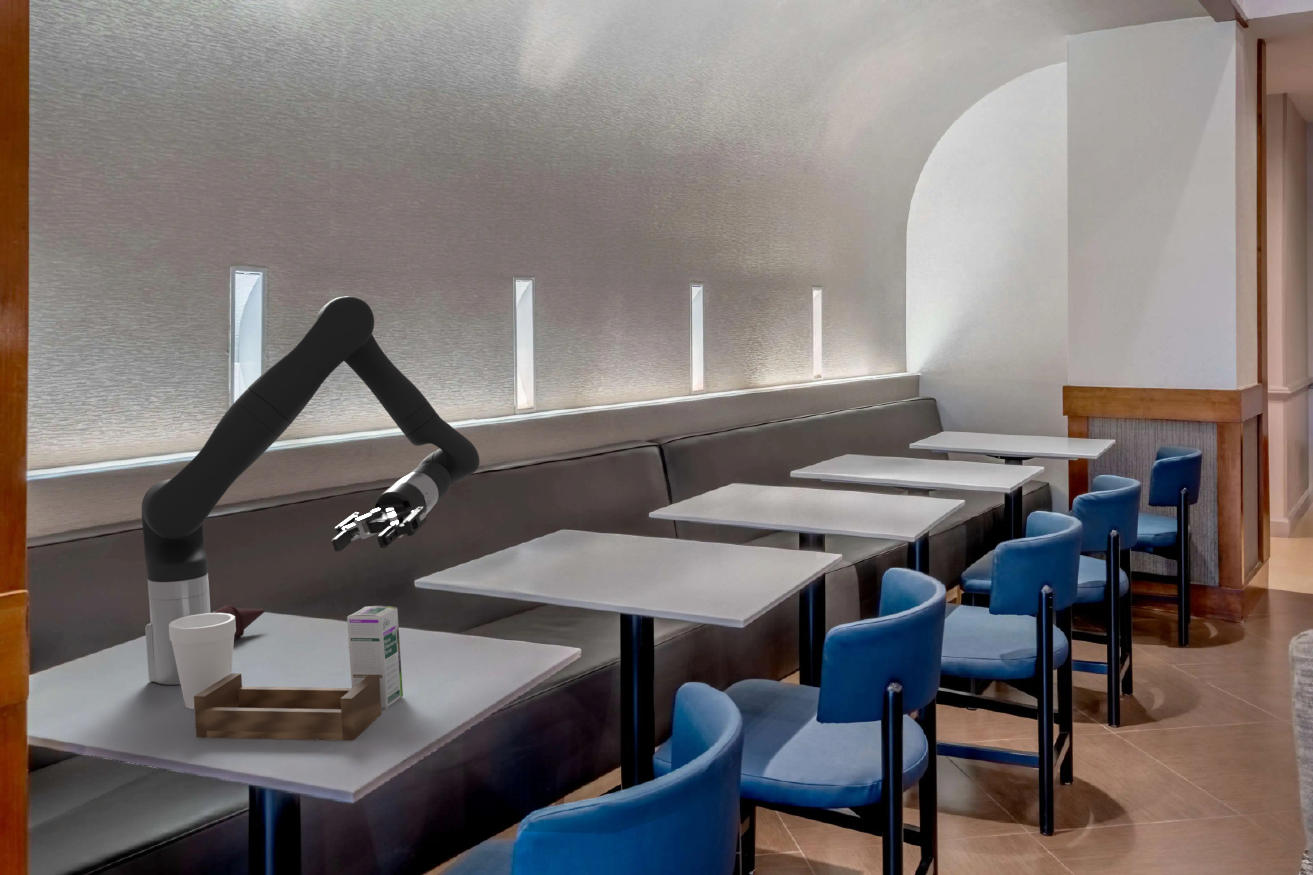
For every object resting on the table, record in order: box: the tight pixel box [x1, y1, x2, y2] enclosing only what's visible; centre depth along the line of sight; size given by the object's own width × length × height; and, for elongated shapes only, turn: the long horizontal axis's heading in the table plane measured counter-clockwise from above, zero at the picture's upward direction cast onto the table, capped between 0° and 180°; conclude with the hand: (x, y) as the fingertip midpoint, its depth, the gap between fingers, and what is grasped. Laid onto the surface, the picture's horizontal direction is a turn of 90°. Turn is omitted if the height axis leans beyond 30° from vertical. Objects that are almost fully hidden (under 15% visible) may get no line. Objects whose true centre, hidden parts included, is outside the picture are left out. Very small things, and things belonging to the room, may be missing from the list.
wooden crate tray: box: [194, 672, 382, 742], centre depth 154 cm, size 23×10×6 cm, turn 83°
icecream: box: [213, 604, 266, 640], centre depth 202 cm, size 7×7×15 cm
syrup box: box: [346, 605, 404, 710], centre depth 163 cm, size 6×6×14 cm
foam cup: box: [169, 612, 236, 710], centre depth 165 cm, size 10×9×13 cm
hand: (357, 544), depth 168 cm, fingers open, 8 cm apart
